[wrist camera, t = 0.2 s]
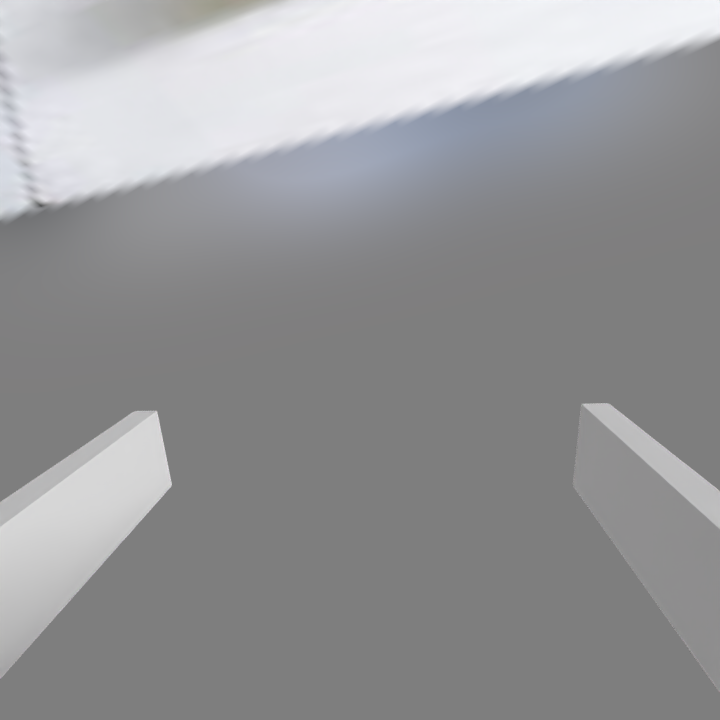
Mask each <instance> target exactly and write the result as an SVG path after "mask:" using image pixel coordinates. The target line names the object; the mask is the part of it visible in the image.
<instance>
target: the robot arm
mask: <svg viewBox="0 0 720 720" xmlns="http://www.w3.org/2000/svg"><path fill="white" fill-rule="evenodd" d="M171 486H172V483H171V478H170V473H169V468H168V463H167V458H166V453H165V448H164V444H163V438H162V433H161V428H160V423H159V418H158V413H157V411H134V412H132V413H131V414H129V415H128V416H127V417H125V418H124V419H122V420H121V421H119V422H118V423H116V424H115V425H113V426H112V427H110V428H109V429H107V430H106V431H105V432H103V433H101V434H100V435H98V436H97V437H95V438H94V439H93V440H91V441H90V442H88V443H87V444H85V445H84V446H83V447H81V448H79V449H78V450H76V451H75V452H73V453H72V454H70V455H69V456H67V457H66V458H65V459H63V460H62V461H60V462H59V463H57V464H56V465H54V466H53V467H51V468H50V469H48V470H47V471H45V472H44V473H43V474H41V475H40V476H38V477H37V478H35V479H34V480H32V481H31V482H29V483H28V484H26V485H25V486H23V487H22V488H20V489H19V490H17V491H16V492H15V493H13V494H11V495H10V496H8V497H7V498H6V499H4V500H3V501H1V502H0V679H1V678H2V676H3V675H4V674H5V673H6V672H7V671H8V669H10V667H11V666H12V665H13V664H14V663H15V662H16V661H17V660H18V658H19V657H20V656H21V655H22V654H23V653H24V652H25V651H26V649H27V648H28V647H29V646H30V645H31V644H32V643H33V642H34V640H35V639H36V638H37V637H38V636H39V635H40V633H42V631H43V630H44V629H45V628H46V627H47V626H48V625H49V624H50V622H51V621H52V620H53V619H54V618H55V617H56V616H57V615H58V613H59V612H60V611H61V610H62V609H63V608H64V607H65V606H66V604H67V603H68V602H69V601H70V600H71V599H72V598H73V596H74V595H75V594H76V593H77V592H78V591H79V590H80V589H81V587H82V586H83V585H84V584H85V583H86V582H87V581H88V579H89V578H90V577H91V576H92V575H93V574H94V573H95V572H96V571H97V569H98V568H99V567H100V566H101V565H102V564H103V563H104V562H105V560H106V559H107V558H108V557H109V556H110V555H111V554H112V553H113V551H114V550H115V549H116V548H117V547H118V546H119V545H120V543H121V542H122V541H123V540H124V539H125V538H126V537H127V536H128V535H129V533H130V532H131V531H132V530H133V529H134V528H135V527H136V526H137V524H138V523H139V522H140V521H141V520H142V519H143V518H144V516H145V515H146V514H147V513H148V512H149V511H150V510H151V509H152V507H153V506H154V505H155V504H156V503H157V502H158V501H159V500H160V498H161V497H162V496H163V495H164V494H165V493H166V492H167V491H168V489H169V488H170V487H171ZM573 486H574V488H575V489H576V491H577V492H578V494H579V495H580V496H581V498H582V499H583V500H584V502H585V503H586V505H587V506H588V508H589V509H590V511H591V512H592V513H593V515H594V516H595V517H596V519H597V520H598V522H599V523H600V524H601V526H602V527H603V529H604V530H605V532H606V533H607V534H608V536H609V537H610V539H611V540H612V542H613V543H614V544H615V546H616V547H617V548H618V550H619V551H620V553H621V554H622V556H623V557H624V558H625V560H626V561H627V563H628V564H629V565H630V567H631V568H632V569H633V571H634V572H635V574H636V575H637V577H638V578H639V579H640V581H641V582H642V584H643V585H644V586H645V588H646V589H647V591H648V592H649V593H650V595H651V596H652V598H653V599H654V601H655V602H656V604H657V605H658V606H659V608H660V609H661V611H662V612H663V613H664V615H665V616H666V618H667V619H668V620H669V622H670V623H671V625H672V626H673V627H674V629H675V630H676V632H677V633H678V635H679V636H680V637H681V639H682V640H683V642H684V643H685V644H686V646H687V647H688V649H689V650H690V651H691V653H692V654H693V656H694V657H695V658H696V660H697V661H698V663H699V664H700V665H701V667H702V668H703V670H704V671H705V673H706V674H707V675H708V677H709V678H710V679H711V681H712V682H713V684H714V685H715V686H716V688H717V689H718V691H719V692H720V491H719V490H718V489H717V488H715V487H714V486H713V485H711V484H710V483H709V482H708V481H706V480H705V479H704V478H703V477H701V476H700V475H699V474H697V473H696V472H695V471H694V470H692V469H691V468H690V467H689V466H687V465H686V464H685V463H684V462H682V461H681V460H680V459H678V458H677V457H676V456H674V455H673V454H672V453H671V452H669V451H668V450H667V449H666V448H665V447H663V446H662V445H661V444H659V443H658V442H657V441H656V440H654V439H653V438H652V437H650V436H649V435H648V434H647V433H646V432H644V431H643V430H642V429H641V428H639V427H638V426H637V425H635V424H634V423H633V422H632V421H630V420H629V419H627V417H625V416H624V415H623V414H621V413H620V412H619V411H618V410H616V409H615V408H614V407H613V406H611V405H610V404H608V403H607V404H606V403H605V404H581V414H580V422H579V432H578V442H577V452H576V461H575V470H574V480H573Z"/></svg>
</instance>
